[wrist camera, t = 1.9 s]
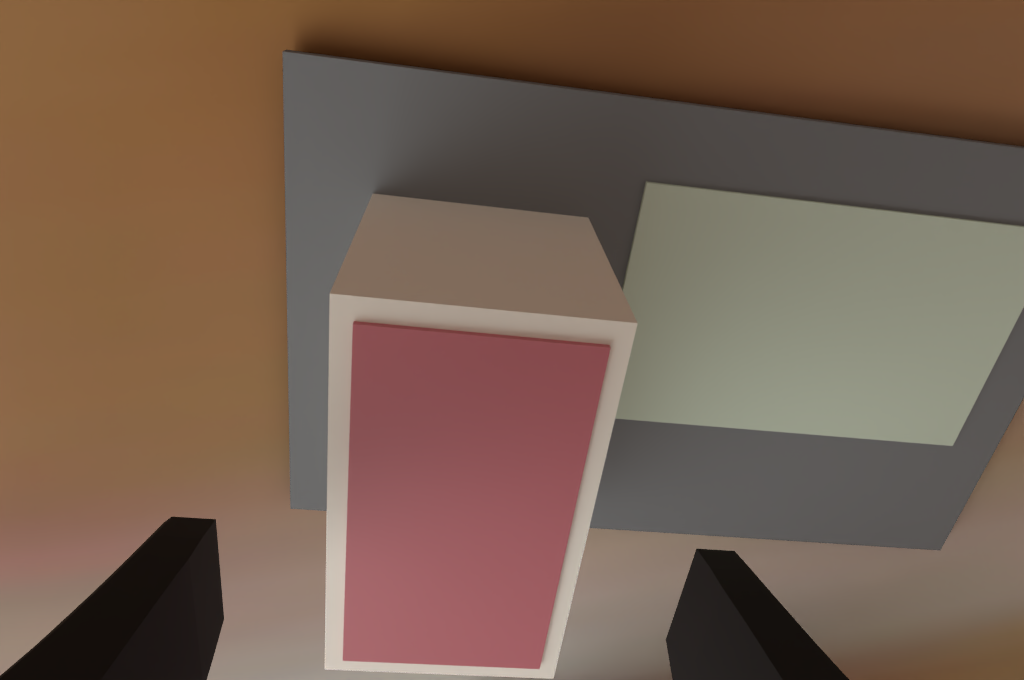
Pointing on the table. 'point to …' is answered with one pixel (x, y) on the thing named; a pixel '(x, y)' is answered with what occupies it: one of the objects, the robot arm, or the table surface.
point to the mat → (705, 288)
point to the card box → (465, 434)
